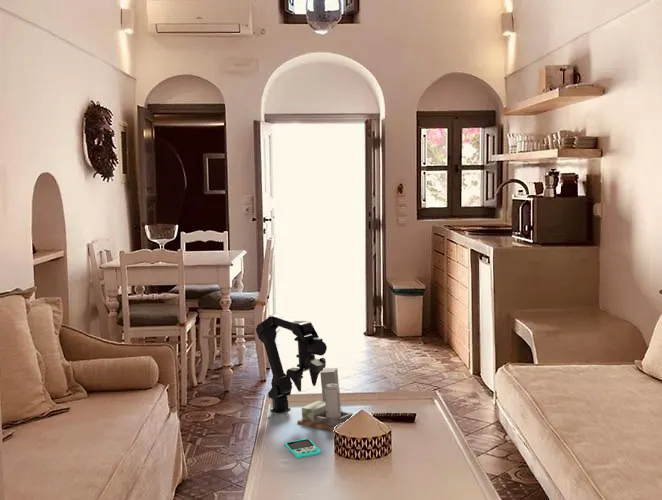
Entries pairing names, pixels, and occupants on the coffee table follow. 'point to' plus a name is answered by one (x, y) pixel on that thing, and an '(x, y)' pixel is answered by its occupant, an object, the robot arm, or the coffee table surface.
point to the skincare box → (328, 378)
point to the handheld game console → (303, 448)
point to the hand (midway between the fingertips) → (307, 388)
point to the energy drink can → (332, 401)
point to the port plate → (320, 417)
